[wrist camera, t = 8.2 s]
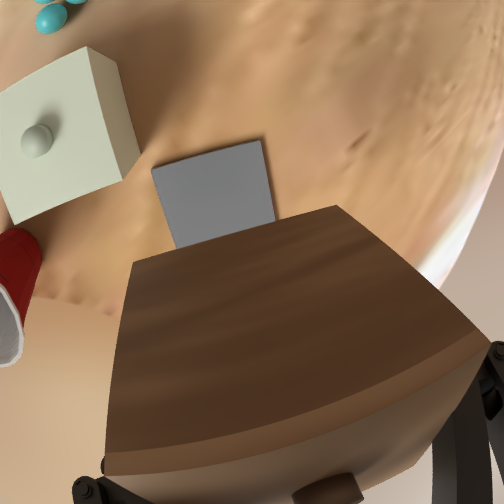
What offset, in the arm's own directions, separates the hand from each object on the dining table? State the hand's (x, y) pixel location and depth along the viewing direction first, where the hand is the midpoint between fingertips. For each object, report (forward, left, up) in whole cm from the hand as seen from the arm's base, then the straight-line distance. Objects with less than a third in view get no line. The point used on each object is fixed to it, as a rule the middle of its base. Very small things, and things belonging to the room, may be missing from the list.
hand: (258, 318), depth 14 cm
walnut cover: (0, 0, 0) cm, 0 cm away
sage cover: (-11, -10, -16) cm, 22 cm away
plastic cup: (-2, -22, -17) cm, 28 cm away
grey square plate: (0, 0, -16) cm, 16 cm away
